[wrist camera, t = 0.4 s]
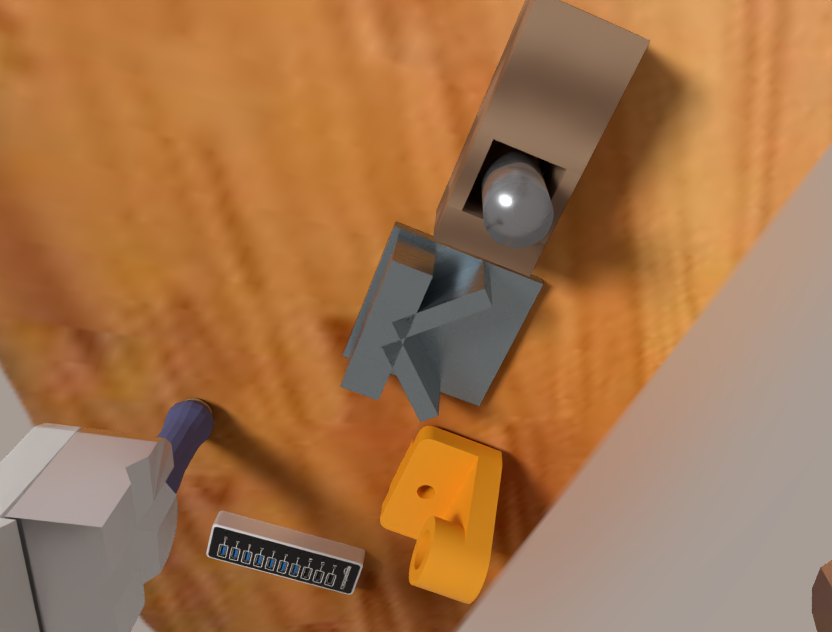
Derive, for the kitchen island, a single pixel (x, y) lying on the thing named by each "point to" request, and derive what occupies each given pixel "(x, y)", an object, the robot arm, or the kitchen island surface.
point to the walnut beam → (540, 116)
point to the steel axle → (514, 197)
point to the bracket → (446, 511)
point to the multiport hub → (285, 552)
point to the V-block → (435, 322)
